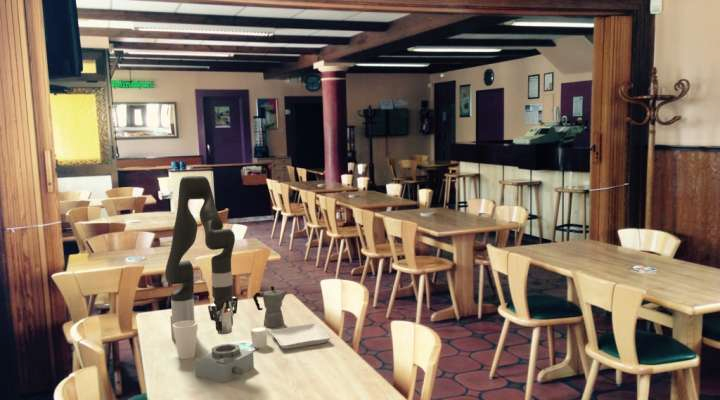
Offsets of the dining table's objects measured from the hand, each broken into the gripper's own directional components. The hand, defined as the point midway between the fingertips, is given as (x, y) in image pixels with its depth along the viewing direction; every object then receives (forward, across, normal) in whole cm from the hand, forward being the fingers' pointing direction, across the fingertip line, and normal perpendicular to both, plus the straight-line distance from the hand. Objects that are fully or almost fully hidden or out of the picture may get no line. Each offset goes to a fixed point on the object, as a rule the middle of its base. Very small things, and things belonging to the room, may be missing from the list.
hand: (224, 328), depth 232 cm
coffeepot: (+16, -50, -17) cm, 55 cm away
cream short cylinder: (+16, -26, -5) cm, 31 cm away
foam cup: (+16, -4, -24) cm, 29 cm away
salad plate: (+16, -38, +6) cm, 42 cm away
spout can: (+2, 0, 0) cm, 2 cm away
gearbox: (+16, +2, +2) cm, 16 cm away
